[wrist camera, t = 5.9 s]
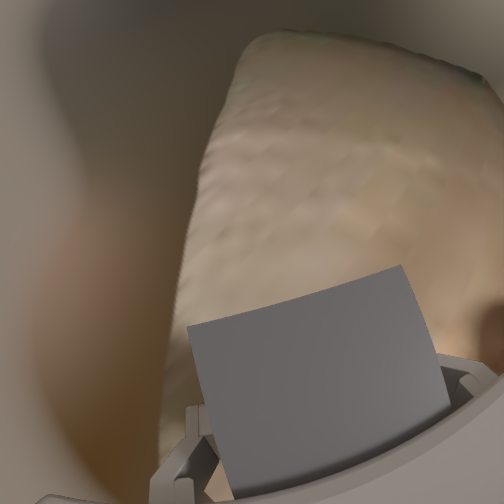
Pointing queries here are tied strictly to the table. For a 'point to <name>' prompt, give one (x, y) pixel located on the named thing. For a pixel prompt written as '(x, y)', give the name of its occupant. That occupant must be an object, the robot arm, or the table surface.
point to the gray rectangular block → (318, 382)
